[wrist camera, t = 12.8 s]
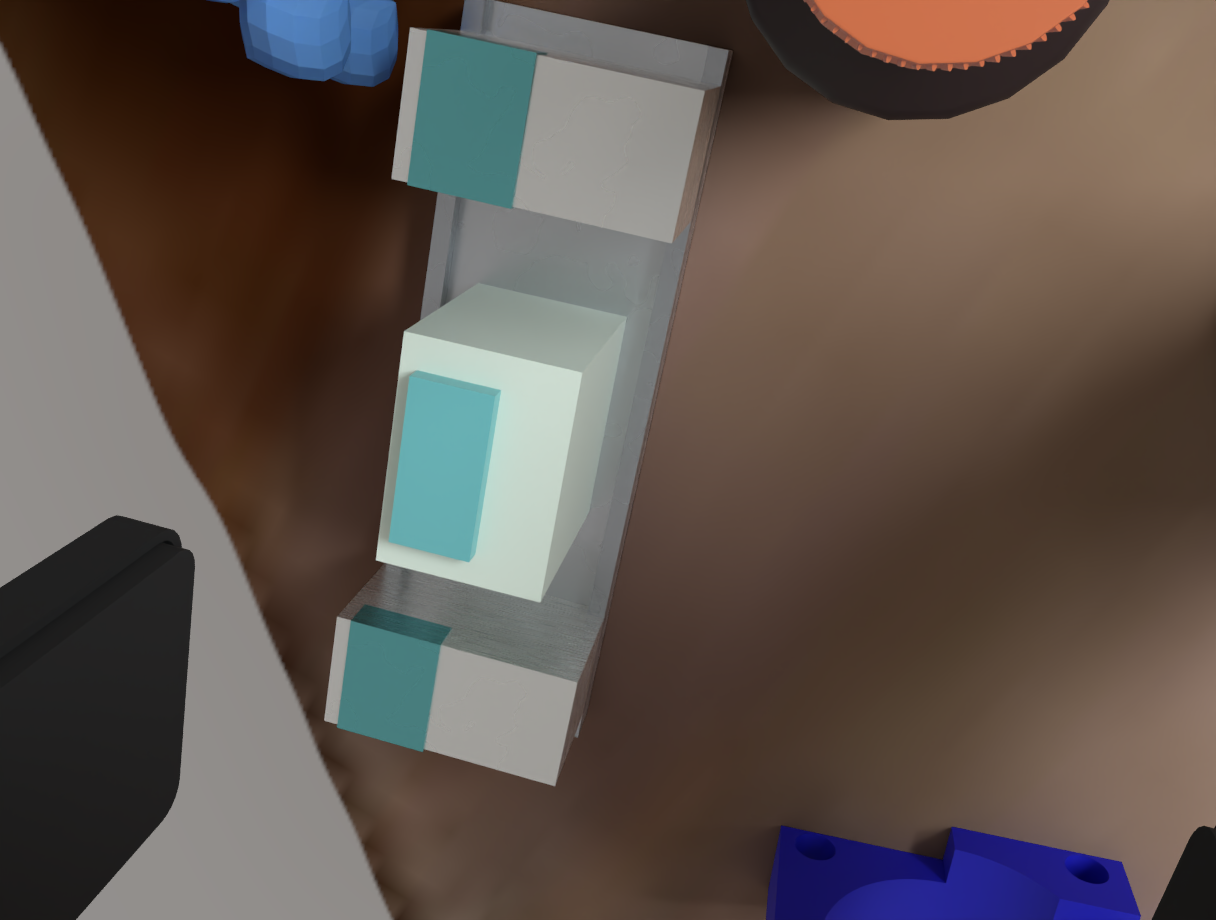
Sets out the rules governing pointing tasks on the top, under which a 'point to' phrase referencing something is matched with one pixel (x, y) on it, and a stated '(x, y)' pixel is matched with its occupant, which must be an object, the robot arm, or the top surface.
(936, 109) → the bottle
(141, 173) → the top surface
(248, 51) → the grapes
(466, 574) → the block
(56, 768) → the robot arm
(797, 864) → the blue mounting bracket
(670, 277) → the rail
